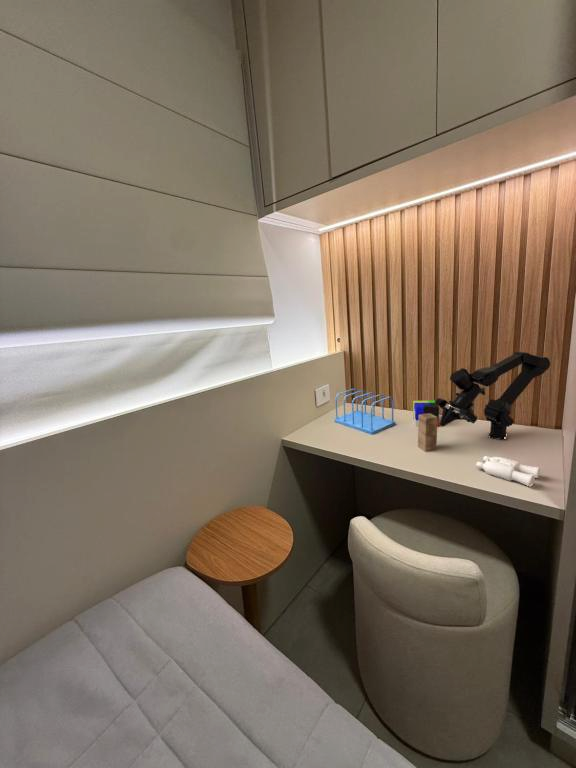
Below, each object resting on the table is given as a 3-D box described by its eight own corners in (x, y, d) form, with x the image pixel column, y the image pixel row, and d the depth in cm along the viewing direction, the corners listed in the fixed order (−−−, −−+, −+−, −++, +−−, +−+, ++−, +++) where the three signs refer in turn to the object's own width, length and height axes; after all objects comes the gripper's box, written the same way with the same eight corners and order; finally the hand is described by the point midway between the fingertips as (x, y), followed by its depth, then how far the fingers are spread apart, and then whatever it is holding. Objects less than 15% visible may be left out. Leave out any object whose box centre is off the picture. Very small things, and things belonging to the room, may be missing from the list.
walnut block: (429, 444, 134) (430, 413, 130) (437, 449, 129) (438, 417, 126) (417, 446, 133) (418, 414, 130) (425, 451, 128) (426, 418, 125)
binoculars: (530, 490, 99) (531, 476, 98) (474, 472, 111) (475, 460, 110) (540, 477, 105) (541, 464, 104) (486, 461, 118) (487, 450, 117)
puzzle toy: (415, 426, 153) (416, 406, 151) (413, 419, 163) (413, 400, 160) (438, 427, 151) (439, 407, 149) (434, 419, 160) (434, 400, 158)
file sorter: (334, 422, 168) (333, 393, 164) (357, 413, 178) (356, 387, 174) (372, 435, 148) (371, 403, 144) (395, 425, 158) (395, 395, 154)
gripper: (496, 415, 123) (469, 446, 123) (462, 401, 140) (438, 428, 141) (480, 397, 119) (452, 429, 120) (446, 386, 137) (422, 414, 138)
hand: (441, 425), depth 130 cm, fingers closed
